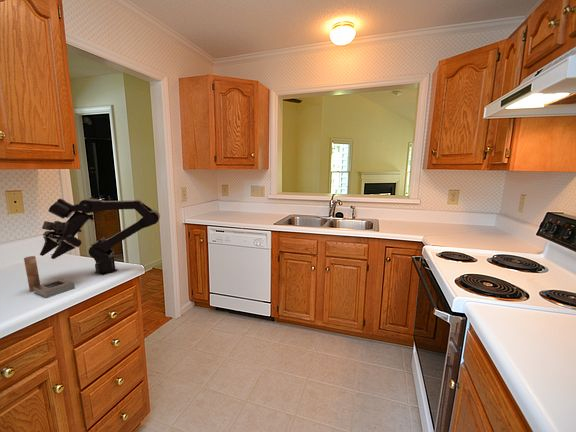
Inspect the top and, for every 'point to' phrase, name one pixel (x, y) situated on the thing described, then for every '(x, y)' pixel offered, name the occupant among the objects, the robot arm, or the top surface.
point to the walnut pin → (32, 272)
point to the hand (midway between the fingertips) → (46, 256)
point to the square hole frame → (54, 287)
